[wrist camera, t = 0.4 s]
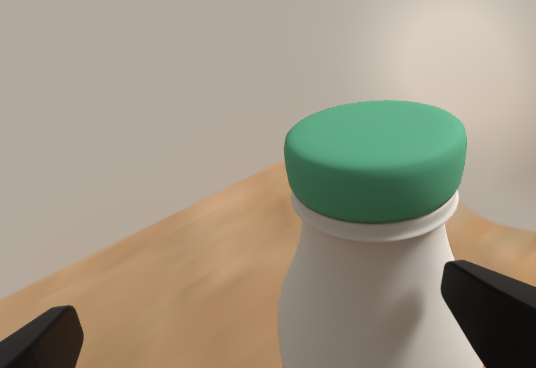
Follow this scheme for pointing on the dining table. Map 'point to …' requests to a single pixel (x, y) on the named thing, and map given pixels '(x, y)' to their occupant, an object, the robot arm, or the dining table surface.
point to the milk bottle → (373, 238)
